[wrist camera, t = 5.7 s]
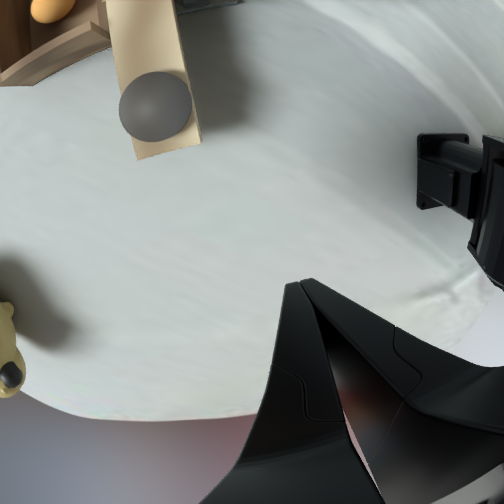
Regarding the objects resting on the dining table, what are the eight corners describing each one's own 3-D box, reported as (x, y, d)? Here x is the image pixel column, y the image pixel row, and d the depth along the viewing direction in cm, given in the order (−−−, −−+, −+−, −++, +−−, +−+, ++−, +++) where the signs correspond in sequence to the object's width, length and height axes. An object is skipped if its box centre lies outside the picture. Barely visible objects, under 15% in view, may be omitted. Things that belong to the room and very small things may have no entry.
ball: (37, 3, 9) (78, -14, 10) (38, 36, 10) (80, 18, 11) (25, -13, 6) (72, -33, 7) (25, 22, 8) (73, 1, 9)
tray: (106, -54, 8) (87, -80, 4) (116, 44, 13) (91, 29, 9) (27, -13, 8) (-3, -26, 4) (32, 86, 13) (-5, 86, 9)
